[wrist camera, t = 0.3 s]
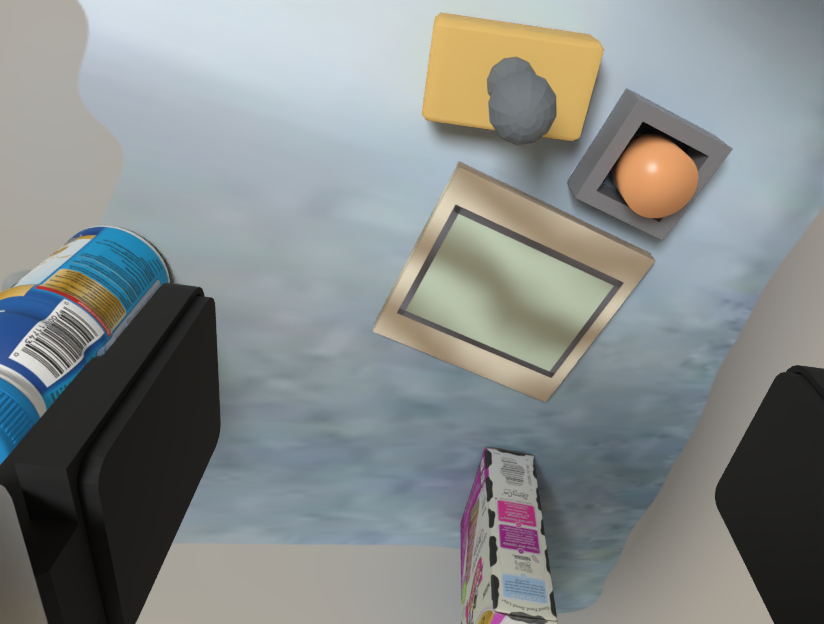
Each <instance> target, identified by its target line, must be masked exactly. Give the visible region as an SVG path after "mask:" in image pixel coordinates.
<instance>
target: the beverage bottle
mask: <svg viewBox="0 0 824 624" xmlns="http://www.w3.org/2000/svg"><path fill="white" fill-rule="evenodd" d="M163 283H170V279H169V273H168V270H167V267H166V265H165V263H164V261H163V259H162V257H161V256H160V254H159V253H158V252H157V251H156V249H155V248H154V247H153V246H152V245H151V244H150V243H148V242H147V241H146V240H145V239H143V238H142V237H140V236H139V235H137V234H135V233H133V232H131V231H129V230H126V229H123V228H119V227H115V226H94V227H90V228H87V229H84V230H82V231H80V232H79V233H77V234H76V235H75V236H73V237H72V238H71V239H70V240H69V241H68V242H67V243H66V244H64V245H63V246H62V247H61V248H59V249H58V250H57V251H56V252H55V253H53V254H52V255H51V256H50V257H48V258H47V259H46V260H45V261H43V262H42V263H41V264H40V265H38V266H37V267H36V268H34V269H33V270H32V271H31V272H29V273H28V274H27V275H26V276H24V277H23V278H22V279H21V280H19V281H18V282H17V283H16V284H14V285H13V286H12V287H10V288H9V289H6V290H4V291H3V292H1V293H0V465H1V464H2V462H3V461H4V460H5V459H6V458H7V456H8V455H9V454H10V453H11V452H12V451H13V449H14V448H15V447H16V446H17V445H18V444H19V442H20V441H21V440H22V439H23V438H24V437H25V435H26V434H27V433H28V432H29V431H30V429H31V428H32V427H33V426H34V425H35V424H36V422H37V421H38V420H39V419H40V418H41V417H42V415H43V414H44V413H45V412H46V411H47V410H48V408H49V407H50V406H51V405H52V404H53V402H54V401H55V400H56V399H57V398H58V397H59V395H60V394H61V393H62V392H63V391H64V390H65V388H66V387H67V386H68V385H69V384H70V383H71V381H72V380H73V379H74V378H75V377H76V376H77V374H78V373H79V372H80V371H81V370H82V368H83V367H84V366H85V365H86V364H87V363H88V362H89V361H90V360H91V359H92V358H94V357H97V356H103V355H104V354H105V352H106V351H107V350H108V349H109V347H110V346H111V345H112V344H113V343H114V341H115V340H116V339H117V338H118V337H119V335H120V334H121V333H122V332H123V331H124V329H125V328H126V327H127V326H128V325H129V323H130V322H131V321H132V320H133V319H134V317H135V316H136V315H137V314H138V313H139V311H140V310H141V309H142V308H143V306H144V305H145V304H146V303H147V302H148V300H149V299H150V298H151V297H152V296H153V294H154V293H155V292H156V291H157V290H158V288H159V287H160V286H161V285H162V284H163Z"/></svg>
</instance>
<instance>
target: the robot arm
mask: <svg viewBox="0 0 824 624" xmlns="http://www.w3.org/2000/svg"><path fill="white" fill-rule="evenodd" d="M219 433H220V400H219V378H218V356H217V334H216V313H215V302H214V299H213V298H211V297H204V292H203V289H202V288H201V287H195V286H187V285H180V284H172V283H163V284H162V285H161V286H160V287H159V288H158V290H157V291H156V292H155V293H154V294H153V296H152V297H151V298H150V299H149V300H148V302H147V303H146V304H145V305H144V306H143V308H142V309H141V310H140V311H139V313H138V314H137V315H136V316H135V317H134V319H133V320H132V321H131V322H130V323H129V325H128V326H127V327H126V328H125V329H124V331H123V332H122V333H121V334H120V335H119V337H118V338H117V339H116V340H115V341H114V343H113V344H112V345H111V346H110V347H109V349H108V350H107V351H106V352H105V354H104V355H103V356H97V357H94V358H92V359H91V360H90V361H89V362H88V363H87V364H86V365H85V366H84V367H83V368H82V370H81V371H80V372H79V373H78V374H77V376H76V377H75V378H74V379H73V380H72V381H71V383H70V384H69V385H68V386H67V387H66V388H65V390H64V391H63V392H62V393H61V394H60V395H59V397H58V398H57V399H56V400H55V401H54V402H53V404H52V405H51V406H50V407H49V408H48V410H47V411H46V412H45V413H44V414H43V415H42V417H41V418H40V419H39V420H38V421H37V422H36V424H35V425H34V426H33V427H32V428H31V429H30V431H29V432H28V433H27V434H26V435H25V437H24V438H23V439H22V440H21V441H20V442H19V444H18V445H17V446H16V447H15V448H14V449H13V451H12V452H11V453H10V454H9V455H8V456H7V458H6V459H5V460H4V461H3V462H2V464H1V465H0V624H135V623H136V621H137V619H138V617H139V615H140V612H141V611H142V608H143V606H144V604H145V602H146V600H147V597H148V595H149V593H150V591H151V589H152V586H153V584H154V582H155V579H156V578H157V575H158V573H159V571H160V569H161V566H162V564H163V562H164V560H165V558H166V555H167V553H168V551H169V549H170V546H171V544H172V542H173V540H174V538H175V536H176V533H177V531H178V529H179V527H180V524H181V522H182V520H183V518H184V516H185V513H186V511H187V509H188V507H189V505H190V502H191V500H192V498H193V496H194V494H195V491H196V489H197V487H198V485H199V482H200V480H201V478H202V476H203V474H204V471H205V469H206V467H207V465H208V463H209V460H210V458H211V456H212V454H213V452H214V449H215V447H216V445H217V442H218V438H219ZM715 500H716V505H717V508H718V510H719V512H720V514H721V516H722V518H723V520H724V522H725V524H726V526H727V528H728V530H729V533H730V534H731V537H732V538H733V541H734V543H735V545H736V547H737V549H738V551H739V553H740V555H741V557H742V559H743V561H744V563H745V565H746V567H747V569H748V571H749V573H750V575H751V577H752V579H753V581H754V583H755V585H756V587H757V590H758V592H759V593H760V596H761V597H762V600H763V602H764V603H765V606H766V608H767V610H768V612H769V614H770V616H771V618H772V620H773V622H774V624H824V369H822V368H815V367H807V366H799V365H796V366H792V367H791V368H789V369H788V370H787V371H786V372H783V373H780V374H779V375H777V376H776V378H775V379H774V381H773V383H772V385H771V387H770V388H769V390H768V392H767V394H766V396H765V398H764V399H763V401H762V403H761V405H760V407H759V409H758V410H757V412H756V414H755V416H754V418H753V420H752V421H751V423H750V425H749V427H748V429H747V431H746V432H745V434H744V436H743V438H742V440H741V442H740V444H739V446H738V447H737V449H736V451H735V453H734V455H733V456H732V458H731V460H730V462H729V464H728V466H727V468H726V469H725V471H724V473H723V475H722V477H721V479H720V480H719V482H718V484H717V487H716V492H715Z"/></svg>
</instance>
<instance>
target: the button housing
mask: <svg viewBox="0 0 824 624" xmlns="http://www.w3.org/2000/svg"><path fill="white" fill-rule="evenodd" d="M642 122H645V123H647V124H649V125H651V126H653V127H654V128H656V129H658V130H660V131H662V132H664V133H666V134H668V135H670V136H672V137H673V138H675V139H677V140H679V141H681V142H683V143H685V144H687V145H689V146H690V147H689V149H688V150H687V151H686V154H687V155H688V156H689V157H690V158H691V159H692V160H693V162H694V163H695V165H696V167H697V171H698V184H697V188H696V191H695V193H694V195H693V196H692V198H691V199H690V201H689V202H688V203H687V204H686V205H685V206H684V207H683V208H681V209H680V210H679V211H677V212H675V213H673V214H671V215H669V216H666V217H662V218H647V217H643V216H641V215H638V214H637V213H635V212H634V211H633V210H632V209H631V208H630V207H629V206H628V204H627V203H626V201H625V200H624V198H623V197H622V195H621V194H620V192H619V191H617V190H615V189H613V188H611V187H609V186H607V185H605V184H603V183H602V182H603V180H604V179H605V177H606V176H607V174H608V173H609V171H610V170H611V168H612V167H613V165H614V164H615V162H616V161H617V159H618V158H619V156H620V155H621V153H622V152H623V150H624V149H625V147H626V146H627V144H628V143H629V141H630V140H631V138H632V137H633V135H634V134H635V132H636V131H637V129H638V128H639V126H640V125H641V123H642ZM731 151H732V148H731V147H729V146H728V145H727V144H725V143H724V142H723V141H722V140H720V139H719V138H718V137H716V136H715V135H713V134H711V133H709V132H707V131H706V130H704V129H702V128H700V127H698V126H696V125H694V124H693V123H691V122H689V121H687V120H685V119H683V118H681V117H679V116H678V115H676V114H674V113H672V112H670V111H668V110H666V109H665V108H663V107H661V106H659V105H657V104H655V103H653V102H651V101H650V100H648V99H646V98H644V97H642V96H640V95H638V94H637V93H635V92H633V91H631V90H629V89H626V90H625V92H624V93H623V95H622V96H621V98H620V100H619V101H618V103H617V104H616V106H615V107H614V109H613V111H612V112H611V114H610V115H609V117H608V118H607V120H606V122H605V123H604V125H603V126H602V128H601V130H600V131H599V133H598V134H597V136H596V137H595V139H594V141H593V142H592V144H591V145H590V147H589V148H588V150H587V152H586V153H585V155H584V156H583V158H582V160H581V161H580V163H579V164H578V166H577V167H576V169H575V171H574V172H573V174H572V175H571V177H570V178H569V180H568V182H567V183H568V185H569V187H570V189H571V191H572V193H573V195H574V197H575V198H576V199H578V200H581V201H583V202H585V203H587V204H589V205H591V206H593V207H595V208H597V209H599V210H601V211H603V212H605V213H607V214H609V215H611V216H613V217H615V218H617V219H620V220H622V221H624V222H626V223H628V224H630V225H632V226H634V227H636V228H638V229H640V230H642V231H644V232H646V233H648V234H650V235H652V236H654V237H656V238H658V239H661V240H664V238H665V237H666V236H667V234H668V233H669V232H670V230H671V229H672V228H673V227H674V225H675V224H676V223H677V221H678V220H679V219H680V217H681V216H682V215H683V213H684V212H685V211H686V210H687V208H688V207H689V206H690V204H691V203H692V202H693V200H694V199H695V198H696V196H697V195H698V194H699V193H700V191H701V190H702V189H703V187H704V186H705V185H706V183H707V182H708V181H709V179H710V178H711V177H712V176H713V174H714V173H715V172H716V170H717V169H718V168H719V166H720V165H721V164H722V162H723V161H724V160H725V159H726V157H727V156H728V155H729V153H730V152H731Z"/></svg>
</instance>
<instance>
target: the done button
mask: <svg viewBox="0 0 824 624" xmlns="http://www.w3.org/2000/svg"><path fill="white" fill-rule="evenodd" d="M611 175H612V180H613V182H614V184H615V186H616V188H617V189H618V191H619V192H620V194H621V195H622V197H623V198H624V200H625V201H626V203H627V204H628V206H629V207H630V208H631V209H632V210H633V211H634V212H635V213H637V214H638V215H641V216H643V217H647V218H662V217H666V216H669V215H671V214H673V213H675V212H677V211H679V210H680V209H681V208H683V207H684V206H685V205H686V204H687V203H688V202H689V201H690V199H691V198H692V196H693V195H694V193H695V191H696V188H697V184H698V171H697V167H696V165H695V163H694V162H693V160H692V159H691V158H690V157H689V156H688V155H687V154H686V153H685V152H683V151H682V150H681V149H680V148H679V147H678V146H677V145H676V144H675V143H674V142H673V141H671V140H670V139H669V138H667V137H666V136H664V135H661V134H656V133H647V134H642V135H639V136H636V137H634V138H632V139H631V140H630V141H629V143H628V144H627V146H626V147H625V149H624V150H623V152H622V153H621V155H620V156H619V158H618V159H617V161H616V162H615V164H614V165H613V167H612V168H611Z"/></svg>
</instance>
